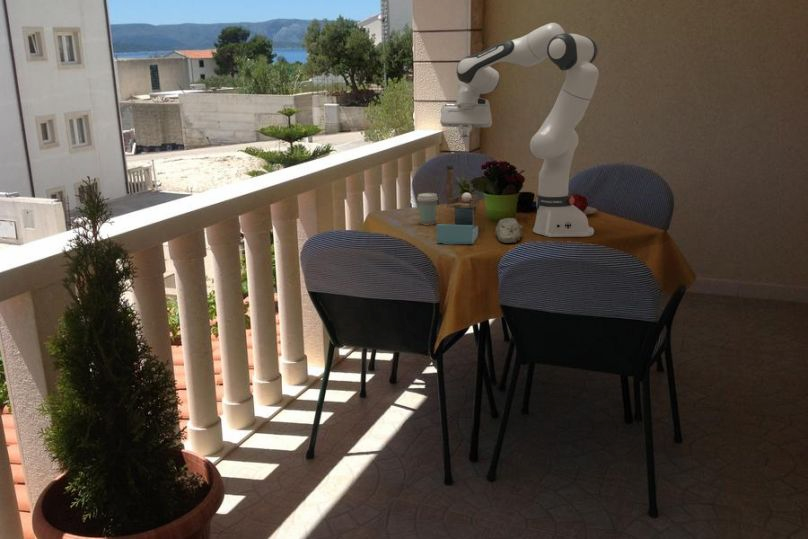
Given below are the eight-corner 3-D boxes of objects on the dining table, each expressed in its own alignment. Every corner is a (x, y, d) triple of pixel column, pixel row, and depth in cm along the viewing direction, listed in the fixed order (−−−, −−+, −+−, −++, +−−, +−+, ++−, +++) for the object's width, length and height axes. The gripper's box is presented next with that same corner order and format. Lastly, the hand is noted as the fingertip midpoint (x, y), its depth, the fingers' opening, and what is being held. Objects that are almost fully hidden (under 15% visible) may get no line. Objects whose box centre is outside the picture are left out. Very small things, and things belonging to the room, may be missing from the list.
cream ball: (472, 203, 285) (472, 193, 285) (470, 201, 281) (471, 191, 281) (462, 203, 286) (462, 193, 286) (460, 201, 282) (461, 191, 282)
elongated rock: (520, 227, 293) (495, 228, 294) (520, 214, 292) (495, 215, 293) (524, 243, 259) (495, 245, 260) (523, 229, 258) (495, 230, 259)
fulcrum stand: (478, 230, 283) (478, 206, 280) (475, 233, 277) (475, 209, 275) (452, 229, 285) (452, 206, 283) (449, 233, 280) (449, 209, 277)
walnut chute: (479, 210, 286) (480, 164, 284) (470, 213, 267) (472, 164, 265) (450, 209, 289) (450, 164, 287) (440, 212, 270) (440, 164, 267)
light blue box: (477, 236, 273) (477, 218, 271) (472, 245, 261) (472, 225, 259) (443, 235, 276) (443, 217, 274) (436, 243, 264) (436, 224, 262)
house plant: (440, 212, 319) (439, 174, 315) (463, 207, 327) (463, 171, 323) (461, 216, 308) (461, 178, 304) (485, 212, 316) (485, 174, 312)
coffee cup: (436, 226, 292) (436, 196, 289) (415, 225, 294) (415, 196, 291) (439, 221, 300) (439, 192, 297) (419, 221, 302) (418, 192, 299)
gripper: (440, 100, 289) (437, 132, 286) (492, 100, 285) (490, 133, 282) (442, 107, 295) (439, 139, 292) (493, 107, 291) (491, 140, 288)
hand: (464, 136), depth 287 cm, fingers closed
